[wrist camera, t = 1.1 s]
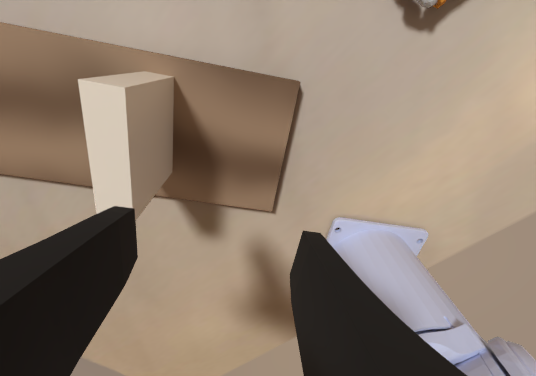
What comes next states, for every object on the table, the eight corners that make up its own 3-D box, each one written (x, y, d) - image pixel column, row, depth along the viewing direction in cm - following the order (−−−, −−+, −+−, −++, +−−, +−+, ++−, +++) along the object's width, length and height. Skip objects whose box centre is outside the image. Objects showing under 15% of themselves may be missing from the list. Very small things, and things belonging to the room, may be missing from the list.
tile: (172, 171, 17) (133, 223, 12) (147, 168, 17) (96, 218, 12) (173, 76, 15) (124, 87, 9) (143, 71, 14) (76, 78, 9)
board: (271, 206, 20) (271, 211, 19) (-17, 165, 17) (-29, 169, 17) (298, 81, 16) (300, 82, 15) (-70, 8, 14) (-89, 5, 13)
